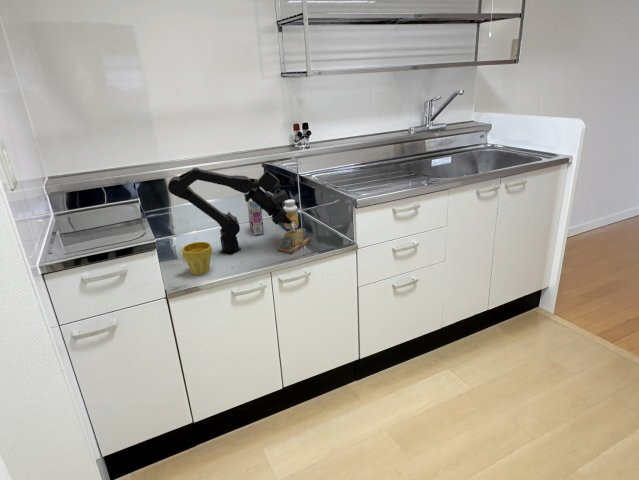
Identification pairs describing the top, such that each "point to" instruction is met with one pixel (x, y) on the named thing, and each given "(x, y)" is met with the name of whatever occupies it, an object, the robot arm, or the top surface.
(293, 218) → the valve lever
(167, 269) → the top surface
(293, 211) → the supplement bottle
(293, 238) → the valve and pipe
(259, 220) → the candy bar box
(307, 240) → the walnut mounting plank
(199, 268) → the plant pot
